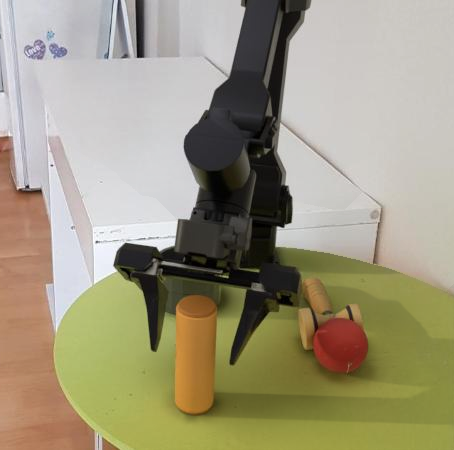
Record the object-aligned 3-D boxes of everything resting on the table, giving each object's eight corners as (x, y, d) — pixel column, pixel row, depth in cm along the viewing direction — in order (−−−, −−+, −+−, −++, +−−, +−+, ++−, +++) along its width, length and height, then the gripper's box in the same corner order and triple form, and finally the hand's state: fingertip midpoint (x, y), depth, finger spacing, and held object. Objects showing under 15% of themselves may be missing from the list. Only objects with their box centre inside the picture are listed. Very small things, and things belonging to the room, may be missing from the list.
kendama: (275, 308, 97) (304, 377, 80) (286, 263, 96) (319, 324, 79) (332, 317, 99) (373, 387, 81) (344, 272, 97) (388, 334, 80)
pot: (153, 281, 100) (153, 244, 98) (218, 280, 101) (219, 244, 99) (153, 316, 93) (153, 277, 90) (223, 315, 93) (224, 277, 91)
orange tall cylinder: (174, 391, 80) (175, 293, 74) (212, 390, 80) (216, 293, 75) (175, 416, 76) (176, 315, 71) (214, 415, 76) (219, 315, 71)
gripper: (117, 169, 73) (78, 324, 68) (308, 192, 69) (281, 359, 64) (143, 210, 84) (110, 348, 79) (311, 233, 80) (287, 379, 75)
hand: (192, 358), depth 74 cm, fingers open, 8 cm apart
